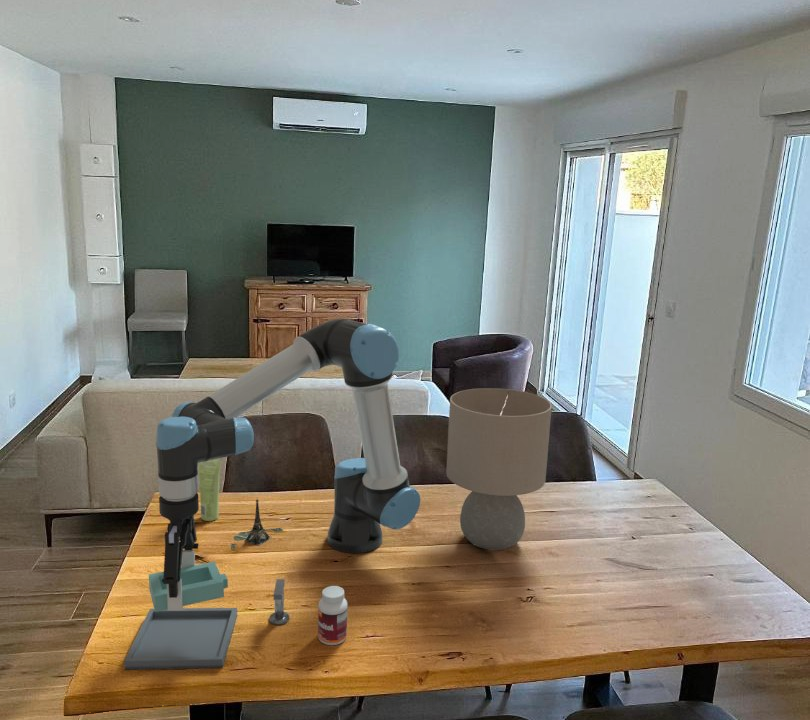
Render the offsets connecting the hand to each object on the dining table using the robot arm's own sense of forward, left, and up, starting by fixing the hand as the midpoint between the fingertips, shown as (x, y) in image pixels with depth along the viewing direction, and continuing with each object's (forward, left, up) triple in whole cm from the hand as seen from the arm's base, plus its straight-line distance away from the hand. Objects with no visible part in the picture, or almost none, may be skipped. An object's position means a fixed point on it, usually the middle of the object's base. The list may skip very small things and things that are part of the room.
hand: (182, 593), depth 144 cm
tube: (+6, -59, -11) cm, 60 cm away
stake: (-19, -8, -11) cm, 23 cm away
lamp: (-74, -44, -11) cm, 87 cm away
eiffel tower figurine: (-10, -46, -12) cm, 48 cm away
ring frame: (-1, 0, 0) cm, 1 cm away
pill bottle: (-31, -1, -11) cm, 33 cm away
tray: (0, 0, -11) cm, 11 cm away
